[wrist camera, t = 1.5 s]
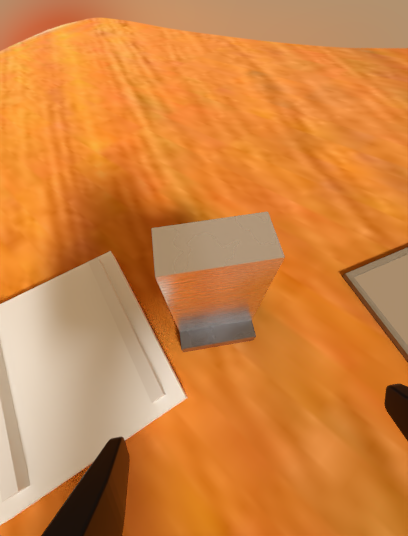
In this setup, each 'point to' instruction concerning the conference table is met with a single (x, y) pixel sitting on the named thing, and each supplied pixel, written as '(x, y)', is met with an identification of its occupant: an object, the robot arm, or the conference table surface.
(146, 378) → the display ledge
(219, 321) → the tall brushed metal block
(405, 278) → the grey flat bordered slab
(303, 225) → the conference table surface
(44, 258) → the conference table surface
